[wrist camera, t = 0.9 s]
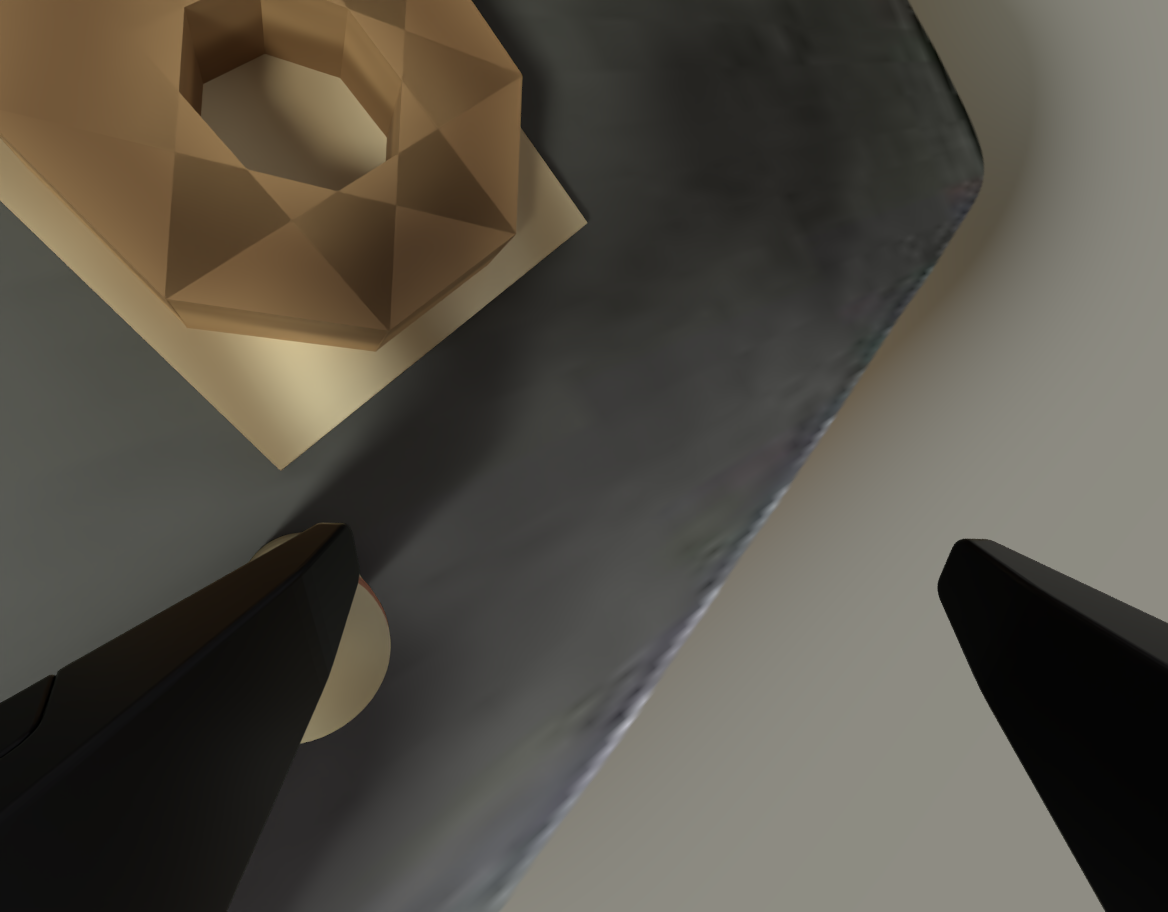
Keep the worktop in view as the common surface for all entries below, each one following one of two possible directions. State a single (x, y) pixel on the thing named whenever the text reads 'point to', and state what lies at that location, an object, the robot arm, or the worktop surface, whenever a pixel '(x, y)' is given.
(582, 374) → the worktop surface
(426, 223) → the bead
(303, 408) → the board
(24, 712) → the robot arm
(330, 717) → the cream banded cylinder
